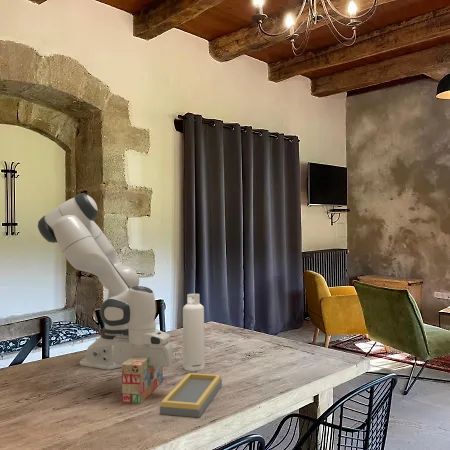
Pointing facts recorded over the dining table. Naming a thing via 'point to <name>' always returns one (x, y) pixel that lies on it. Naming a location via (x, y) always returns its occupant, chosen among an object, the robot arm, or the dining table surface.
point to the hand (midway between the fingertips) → (142, 377)
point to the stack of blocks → (138, 379)
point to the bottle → (193, 334)
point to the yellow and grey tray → (191, 395)
